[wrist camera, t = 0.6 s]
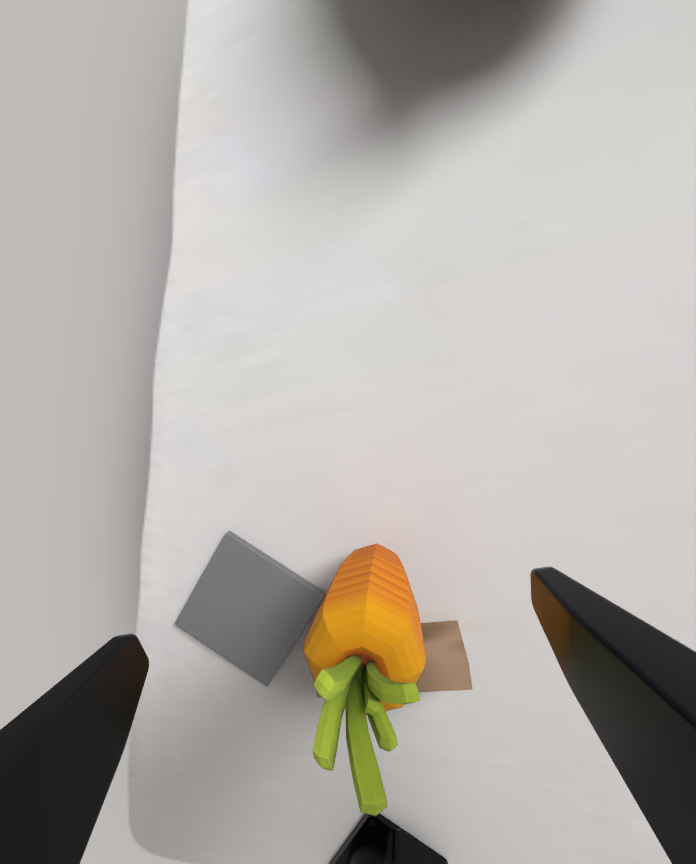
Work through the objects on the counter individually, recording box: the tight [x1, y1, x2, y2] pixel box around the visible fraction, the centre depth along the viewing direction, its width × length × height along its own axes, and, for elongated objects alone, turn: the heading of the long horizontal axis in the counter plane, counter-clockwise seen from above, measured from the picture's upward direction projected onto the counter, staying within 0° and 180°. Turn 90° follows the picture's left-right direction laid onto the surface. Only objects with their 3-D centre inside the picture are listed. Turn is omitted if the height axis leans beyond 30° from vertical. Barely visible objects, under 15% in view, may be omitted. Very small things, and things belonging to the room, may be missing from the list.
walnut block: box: [316, 621, 472, 697], centre depth 23 cm, size 9×2×4 cm, turn 99°
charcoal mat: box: [175, 531, 325, 686], centre depth 26 cm, size 8×8×1 cm
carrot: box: [304, 544, 426, 816], centre depth 18 cm, size 5×5×15 cm
